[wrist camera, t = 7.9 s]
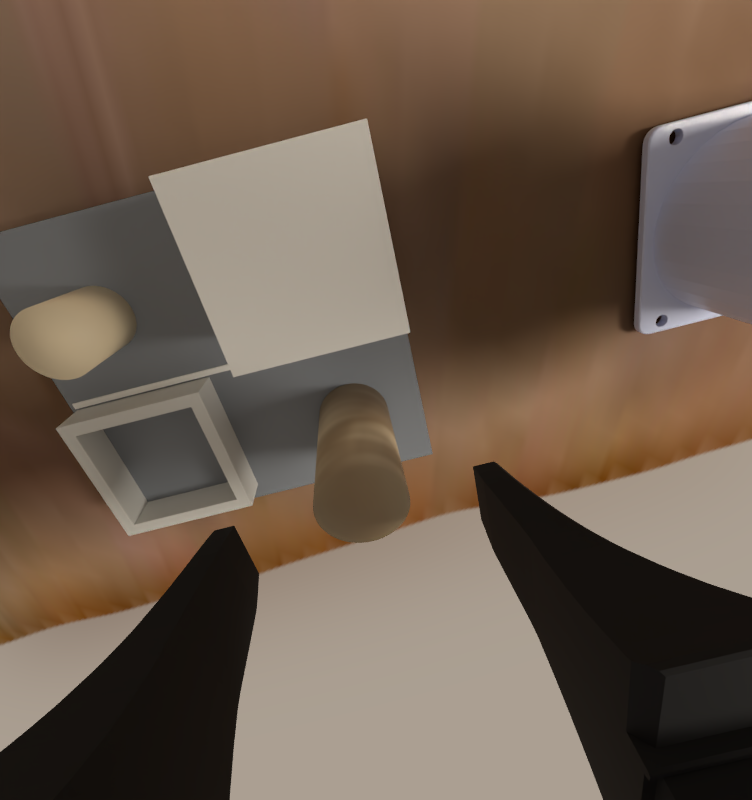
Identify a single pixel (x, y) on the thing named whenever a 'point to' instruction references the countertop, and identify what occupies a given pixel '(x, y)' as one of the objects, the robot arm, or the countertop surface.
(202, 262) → the cover
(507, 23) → the countertop surface
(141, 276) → the board
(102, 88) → the countertop surface
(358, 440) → the loose pin
